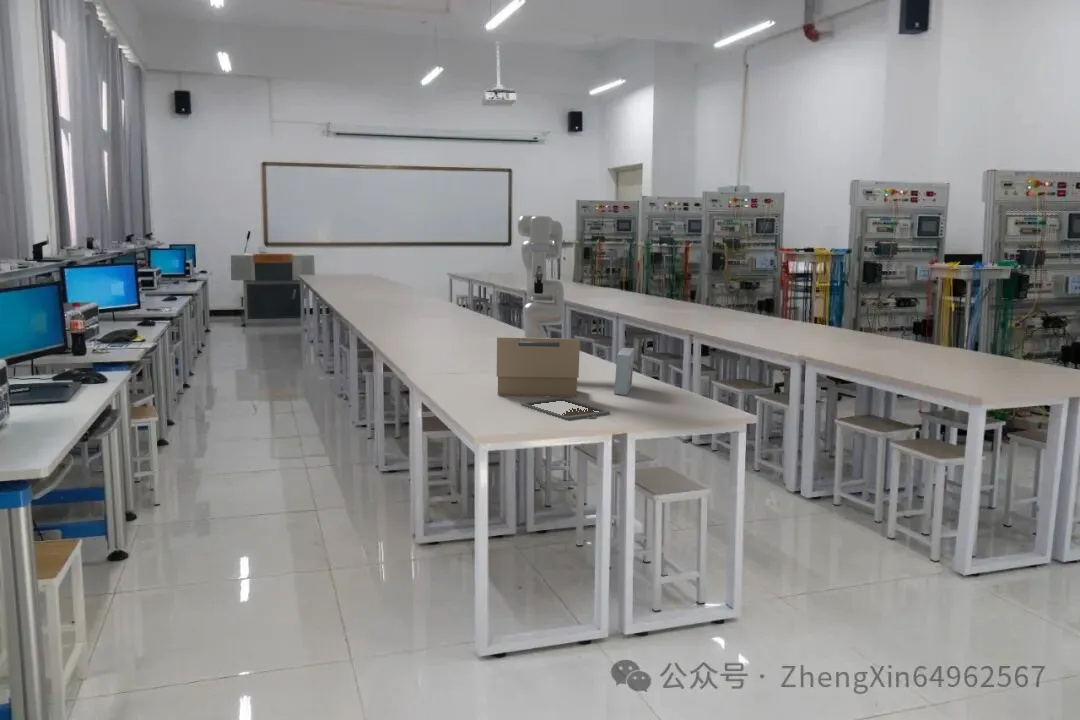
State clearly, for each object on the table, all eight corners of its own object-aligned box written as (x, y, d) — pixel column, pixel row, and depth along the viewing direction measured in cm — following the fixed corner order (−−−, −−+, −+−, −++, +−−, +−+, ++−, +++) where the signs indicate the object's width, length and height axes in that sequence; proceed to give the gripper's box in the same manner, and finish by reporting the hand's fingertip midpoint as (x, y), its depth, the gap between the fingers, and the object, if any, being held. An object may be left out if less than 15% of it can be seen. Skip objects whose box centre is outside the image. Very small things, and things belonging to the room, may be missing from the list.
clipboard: (562, 397, 320) (615, 412, 296) (562, 401, 320) (615, 417, 296) (520, 402, 309) (572, 419, 285) (520, 407, 309) (572, 423, 285)
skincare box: (627, 395, 332) (629, 355, 329) (613, 394, 333) (615, 354, 330) (633, 385, 352) (634, 347, 349) (619, 385, 353) (621, 346, 350)
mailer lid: (497, 336, 320) (496, 341, 311) (579, 337, 321) (581, 343, 312) (496, 375, 324) (495, 382, 315) (578, 377, 325) (580, 383, 316)
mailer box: (498, 388, 339) (498, 369, 338) (574, 390, 340) (574, 371, 339) (497, 395, 325) (497, 376, 324) (576, 397, 326) (577, 377, 325)
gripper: (529, 247, 341) (528, 290, 344) (530, 248, 324) (529, 294, 327) (548, 248, 341) (547, 290, 344) (549, 249, 324) (548, 294, 327)
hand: (538, 292), depth 335 cm, fingers open, 9 cm apart
